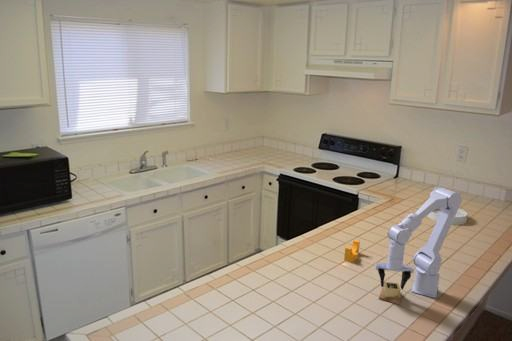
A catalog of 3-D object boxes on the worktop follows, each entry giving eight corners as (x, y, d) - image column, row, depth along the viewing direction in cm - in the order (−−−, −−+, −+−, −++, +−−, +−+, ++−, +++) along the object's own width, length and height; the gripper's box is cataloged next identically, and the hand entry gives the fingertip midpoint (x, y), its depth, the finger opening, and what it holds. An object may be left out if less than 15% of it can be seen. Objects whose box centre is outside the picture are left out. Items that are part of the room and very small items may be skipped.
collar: (397, 291, 177) (398, 283, 176) (399, 299, 171) (400, 290, 170) (383, 290, 178) (384, 281, 177) (384, 297, 172) (385, 288, 171)
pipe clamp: (352, 262, 203) (354, 250, 202) (344, 260, 205) (345, 247, 204) (362, 254, 213) (363, 241, 211) (353, 251, 215) (354, 239, 214)
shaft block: (402, 295, 177) (403, 285, 175) (399, 304, 170) (400, 294, 168) (382, 289, 180) (383, 280, 179) (378, 299, 173) (379, 289, 172)
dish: (432, 209, 281) (433, 202, 280) (469, 217, 269) (470, 210, 267) (422, 219, 263) (424, 211, 262) (462, 228, 251) (463, 220, 250)
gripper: (412, 253, 173) (408, 283, 176) (375, 249, 175) (372, 280, 178) (416, 261, 166) (412, 292, 170) (377, 257, 168) (374, 288, 172)
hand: (391, 287), depth 174 cm, fingers open, 7 cm apart
